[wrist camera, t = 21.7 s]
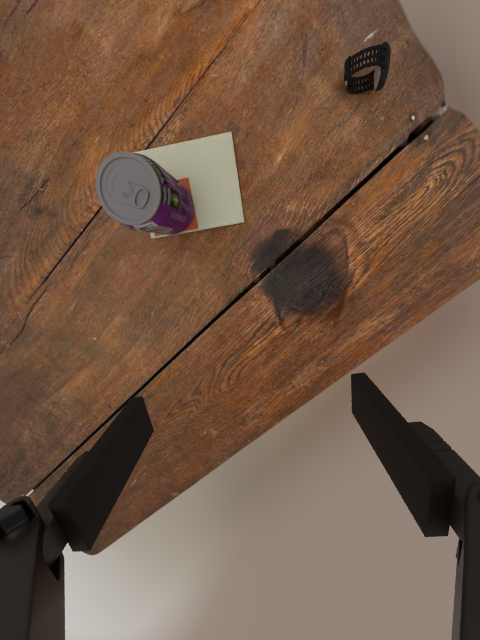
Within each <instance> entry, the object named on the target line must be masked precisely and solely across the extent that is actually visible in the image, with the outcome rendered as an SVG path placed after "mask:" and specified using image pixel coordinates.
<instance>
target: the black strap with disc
mask: <svg viewBox="0 0 480 640" xmlns="http://www.w3.org/2000/svg"><path fill="white" fill-rule="evenodd" d="M376 49H377V53H376ZM372 50H374V52H373V55H372ZM369 51H370V54H369V56H367V54H368V52H369ZM365 52H366V56H365V57H364V53H365ZM361 54H362V58H361V59H360V55H361ZM390 54H391V49H390V45H389V44H388V42H383V44H380V45H376V46H371V47H368V48H366V49H363V50H361V51H359V52H358V53H356V54H354V55H353V56H352V57H351V56H349V57H348V58H347V59H346V61H345V66H344V68H345V74H344V82H345V86H346V89H347V91H348V92H349V93H351V94H357V93H362V92H365V91H369V90H373V89H375V90H376V91H378V90H381V89H382V88H383V86H384V84H385V81H386V78H387V74H388V70H389V64H390ZM357 57H358V60H357ZM375 57H376V60H375ZM354 58H355V62H354ZM371 58H373V62H372V61H371ZM367 59H369V63H367ZM364 60H365V64H363V61H364ZM351 62H352V64H351ZM360 62H362V66H360ZM357 64H358V68H357V67H356V65H357ZM354 65H355V69H354ZM370 66H375V69H374V70H373V71H372V72H370V73H369V74H367V75H364V76H361V77H351V75H353V74H354V73H356V72H358V71H359V70H362V69H364V68H366V67H370ZM351 67H352V71H351ZM373 75H374V76H373ZM370 76H371V77H370ZM366 78H367V81H366V82H365V79H366ZM362 79H364V80H363V83H362ZM369 79H370V80H369ZM356 80H357V84H355V83H356ZM359 80H360V84H358V82H359ZM353 82H354V84H353ZM372 82H373V85H372ZM369 83H370V86H369ZM365 85H366V86H367V88H365ZM358 86H359V87H360V90H358ZM361 86H363V89H362V88H361ZM351 87H352V88H351ZM353 87H354V90H353ZM355 87H356V89H357V90H355Z"/></svg>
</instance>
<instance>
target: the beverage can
mask: <svg viewBox="0 0 480 640" xmlns="http://www.w3.org/2000/svg"><path fill="white" fill-rule="evenodd" d="M96 192H97V196H98V199H99V201H100V203H101V205H102V207H103V208H104V210H105V211H106V212H107V213H108V214H109V215H110V216H111V217H112V218H113V219H115V220H116V221H118V222H119V223H120V224H122V225H123V226H125V227H127V228H129V229H132V230H135V231H142V232H150V233H159V234H167V235H175V234H178V233H181V232H182V231H184V230H185V229H186V228H187V227H188V226H189V225H190V223H191V221H192V218H193V214H194V204H193V200H192V197H191V195H190V193H189V191H188V190H187V189H186V187H185V186H183V185H182V184H181V183H180V182H179V181H178V180H176V179H175V178H174V177H173V176H172V175H170V174H169V173H168V172H167V171H166V170H165V169H163V168H162V167H161V166H160V165H159V164H157V163H156V162H155V161H154V160H152V159H151V158H149V157H147V156H145V155H142V154H138V153H131V152H116V153H113V154H111V155H110V156H108V157H107V158H106V159H105V160H104V161H103V162H102V163H101V165H100V167H99V169H98V171H97V175H96Z"/></svg>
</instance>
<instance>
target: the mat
mask: <svg viewBox="0 0 480 640" xmlns="http://www.w3.org/2000/svg"><path fill="white" fill-rule="evenodd" d="M134 153H138V154H142V155H145V156H147V157H149V158H151V159H152V160H154V161H155V162H156V163H157V164H159V165H160V166H161V167H162V168H163V169H165V170H166V171H167V172H168V173H169V174H170V175H172V176H173V177H174V178H175V179H176V180H178V181H179V182H180V183H181V184H182V185H183V186H185V187H186V189H187V190H188V191H189V193H190V195H191V197H192V200H193V204H194V214H193V218H192V221H191V223H190V225H189V226H188V227H187V228H186V229H185V230H184V231H182V232H181V233H178V234H182V233H188V232H194V231H199V230H205V229H211V228H216V227H222V226H228V225H233V224H239V223H244V216H243V209H242V201H241V194H240V187H239V180H238V173H237V166H236V159H235V152H234V145H233V138H232V132H227V133H223V134H218V135H213V136H209V137H204V138H199V139H195V140H190V141H185V142H181V143H176V144H171V145H167V146H162V147H158V148H153V149H148V150H144V151H139V152H134ZM150 235H151V238H153V239H154V238H159V237H165V236H171V235H167V234H159V233H150ZM175 235H176V234H175Z"/></svg>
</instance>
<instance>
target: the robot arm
mask: <svg viewBox="0 0 480 640" xmlns="http://www.w3.org/2000/svg"><path fill="white" fill-rule="evenodd" d="M351 391H352V413H353V415H354V417H355V418H356V420H357V422H358V423H359V425H360V427H361V429H362V430H363V432H364V434H365V435H366V437H367V439H368V440H369V442H370V444H371V446H372V447H373V449H374V450H375V452H376V454H377V456H378V457H379V459H380V461H381V463H382V464H383V466H384V468H385V469H386V471H387V473H388V474H389V476H390V478H391V480H392V481H393V483H394V485H395V486H396V488H397V490H398V492H399V493H400V495H401V497H402V498H403V500H404V502H405V503H406V505H407V507H408V509H409V510H410V512H411V514H412V515H413V517H414V519H415V520H416V522H417V524H418V526H419V527H420V529H421V531H422V532H423V534H424V536H425V537H435V536H448V532H449V525H450V526H451V527H452V528H453V530H454V531H455V533H456V534H457V536H458V537H459V542H458V547H457V553H456V558H457V568H456V582H455V597H454V612H453V626H452V640H480V477H479V476H478V475H477V474H476V473H475V472H474V471H473V470H472V469H471V468H470V466H468V465H467V464H466V462H465V461H464V460H463V459H462V458H461V457H460V456H459V455H458V454H457V453H456V452H455V451H454V450H452V449H451V447H450V446H449V445H448V444H447V443H446V442H445V441H443V439H442V438H441V437H440V436H439V435H438V434H437V433H436V432H435V431H434V430H433V429H432V428H430V427H429V426H427V425H425V424H424V423H422V422H410V423H408V422H407V421H406V420H405V419H404V418H403V417H402V415H401V414H400V413H399V412H398V411H397V410H396V409H395V407H394V406H393V405H392V404H391V403H390V402H389V400H388V399H387V398H386V397H385V396H384V395H383V394H382V393H381V391H380V390H379V389H378V388H377V386H376V385H375V384H374V383H373V382H372V381H371V380H370V379H369V378H368V376H367V375H366V374H365V373H357V374H351ZM153 432H154V430H153V427H152V424H151V421H150V418H149V415H148V412H147V409H146V406H145V403H144V399H143V397H136V398H131V399H130V401H129V402H128V403H127V404H126V406H125V407H124V408H123V409H122V411H121V412H120V413H119V414H118V416H117V417H116V418H115V419H114V421H113V422H112V423H111V424H110V426H109V427H108V428H107V429H106V431H105V432H104V433H103V435H102V436H101V437H100V438H99V440H98V441H97V442H96V443H95V445H94V446H93V447H92V448H91V450H90V451H86V452H84V453H83V454H82V455H81V456H80V457H78V458H77V459H76V460H75V461H74V462H73V463H72V465H71V466H70V467H69V468H68V469H67V472H65V473H64V474H63V475H62V477H61V479H60V480H58V482H57V483H56V484H55V485H54V486H53V488H52V489H51V490H50V491H49V492H48V494H47V495H46V496H45V497H44V498H43V500H42V501H41V502H40V503H39V505H38V506H37V507H35V505H34V503H33V501H32V500H31V498H30V497H27V496H24V497H19V498H17V499H15V500H13V501H11V502H9V503H8V504H6V505H5V506H3V507H2V508H1V509H0V640H65V604H64V603H65V601H64V600H65V597H64V595H65V594H64V556H63V554H62V551H63V549H64V547H65V546H66V544H67V543H69V545H70V547H71V549H72V551H90V550H91V548H92V546H93V544H94V542H95V540H96V538H97V537H98V535H99V533H100V531H101V529H102V527H103V525H104V523H105V522H106V520H107V518H108V516H109V514H110V512H111V510H112V508H113V507H114V505H115V503H116V501H117V499H118V497H119V495H120V493H121V492H122V490H123V488H124V486H125V484H126V482H127V480H128V478H129V477H130V475H131V473H132V471H133V469H134V467H135V465H136V463H137V462H138V460H139V458H140V456H141V454H142V452H143V450H144V448H145V447H146V445H147V443H148V441H149V439H150V437H151V435H152V433H153Z"/></svg>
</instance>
